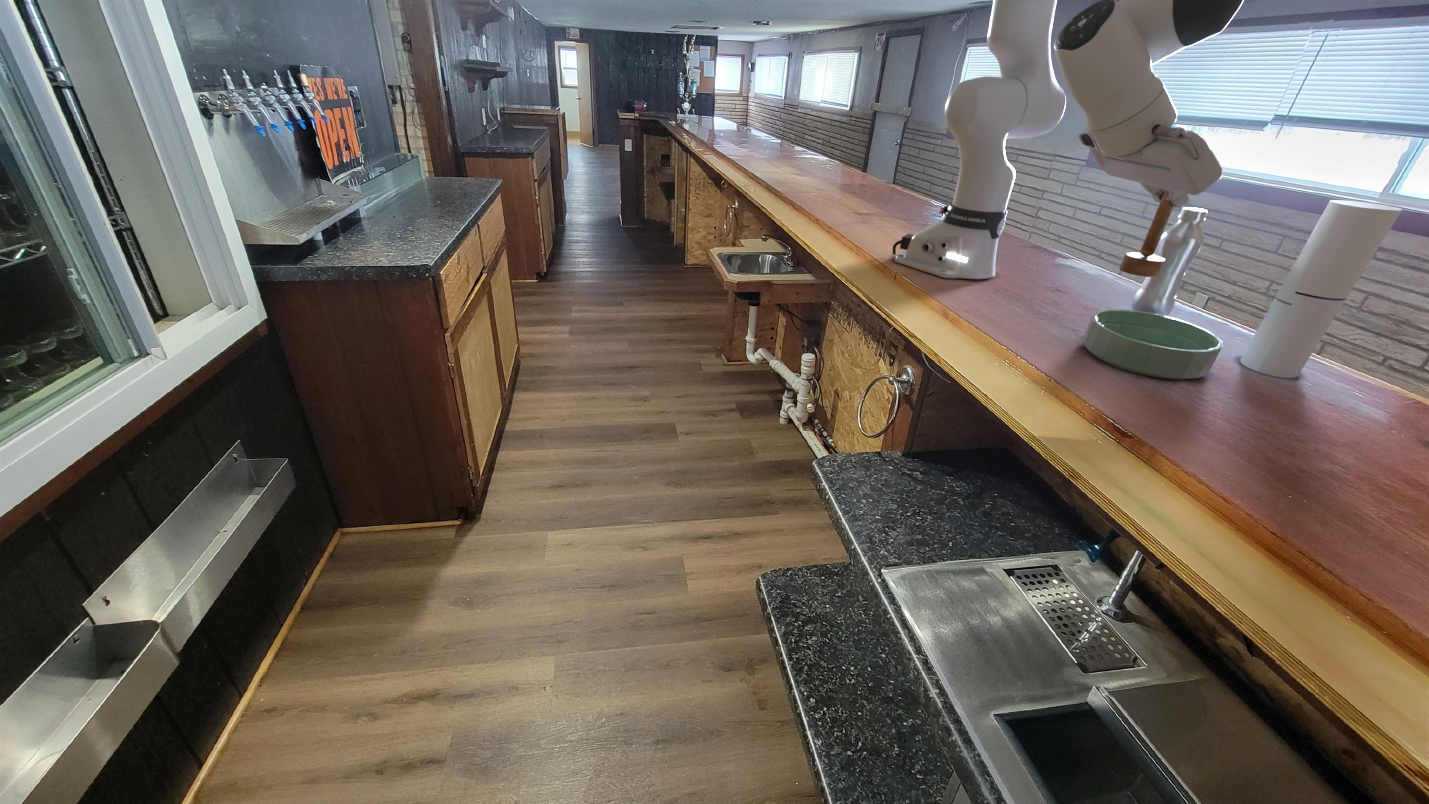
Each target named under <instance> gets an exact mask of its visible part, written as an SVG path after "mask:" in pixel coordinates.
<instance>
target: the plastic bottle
mask: <svg viewBox="0 0 1429 804" xmlns="http://www.w3.org/2000/svg"><path fill="white" fill-rule="evenodd" d="M1207 215H1208V210H1207V209H1204V208H1199V207H1189V206H1184V207H1183V206H1182V209H1181V211H1180V214H1179V215H1178V217H1177V219H1178V220H1177V222H1175V223H1174V224H1172V225H1171V226H1169V227H1168V228H1167V229H1166V230H1164V231H1163V234H1162V236H1161V238H1160V241H1159V243H1158V245H1157V248H1156V250H1155V253H1154V255H1156V256H1160V257H1162V258H1164V259H1165V263H1164V265H1163V267H1162V269H1161V272H1160V274H1159V276H1157V277H1145V279H1144V280H1143V282H1142V284H1141V286H1140V288H1139V289H1138V290H1137V291H1136V292H1135V294H1134V296H1133V298H1132V299H1131V304H1130V308H1131V310H1134V311H1142V312H1148V313H1153V314H1159V315H1163V316H1167V317H1168V316H1169V315H1170V313H1171V312H1172V310H1173V309H1174V307H1175V303H1176V300H1177V295H1178V292H1179V289H1180V286H1181V284H1182V281H1183V278H1184V277H1185V275H1186V273H1187V271H1188V270H1189V267H1190V266H1191V264H1192V262H1193V261H1194V260H1195V258H1196V256H1197V255H1198V253H1199V252H1200V250H1201V249H1202V248H1203V245H1204V244H1205V234H1204V230H1203V228H1202V223H1204V222H1205V220H1206V217H1207Z"/></svg>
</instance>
